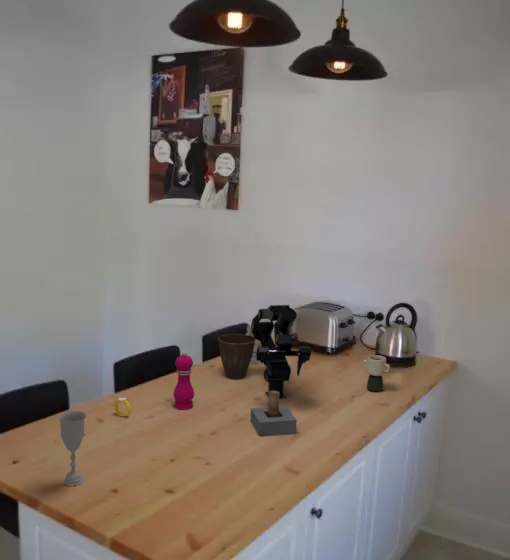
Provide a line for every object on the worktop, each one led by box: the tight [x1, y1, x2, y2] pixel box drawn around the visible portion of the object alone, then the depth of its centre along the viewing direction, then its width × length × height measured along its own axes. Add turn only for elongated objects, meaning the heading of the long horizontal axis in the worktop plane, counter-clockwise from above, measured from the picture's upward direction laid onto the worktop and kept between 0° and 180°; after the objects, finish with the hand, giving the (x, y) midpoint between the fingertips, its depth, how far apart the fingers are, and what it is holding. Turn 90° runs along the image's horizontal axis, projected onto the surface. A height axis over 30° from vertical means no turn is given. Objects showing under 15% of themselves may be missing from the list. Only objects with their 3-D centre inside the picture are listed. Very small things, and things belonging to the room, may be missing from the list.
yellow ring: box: [114, 397, 132, 418], centre depth 203 cm, size 6×3×6 cm, turn 62°
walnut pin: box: [267, 391, 280, 418], centre depth 196 cm, size 4×4×11 cm
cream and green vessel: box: [362, 354, 391, 392], centre depth 235 cm, size 11×7×13 cm, turn 56°
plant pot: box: [217, 333, 255, 380], centre depth 246 cm, size 15×15×16 cm
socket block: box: [250, 405, 298, 437], centre depth 197 cm, size 12×12×4 cm
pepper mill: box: [172, 350, 195, 411], centre depth 211 cm, size 7×7×20 cm
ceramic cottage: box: [244, 325, 262, 365], centre depth 271 cm, size 16×16×15 cm
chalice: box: [58, 410, 87, 487], centre depth 157 cm, size 7×7×18 cm
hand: (284, 375), depth 207 cm, fingers open, 9 cm apart
